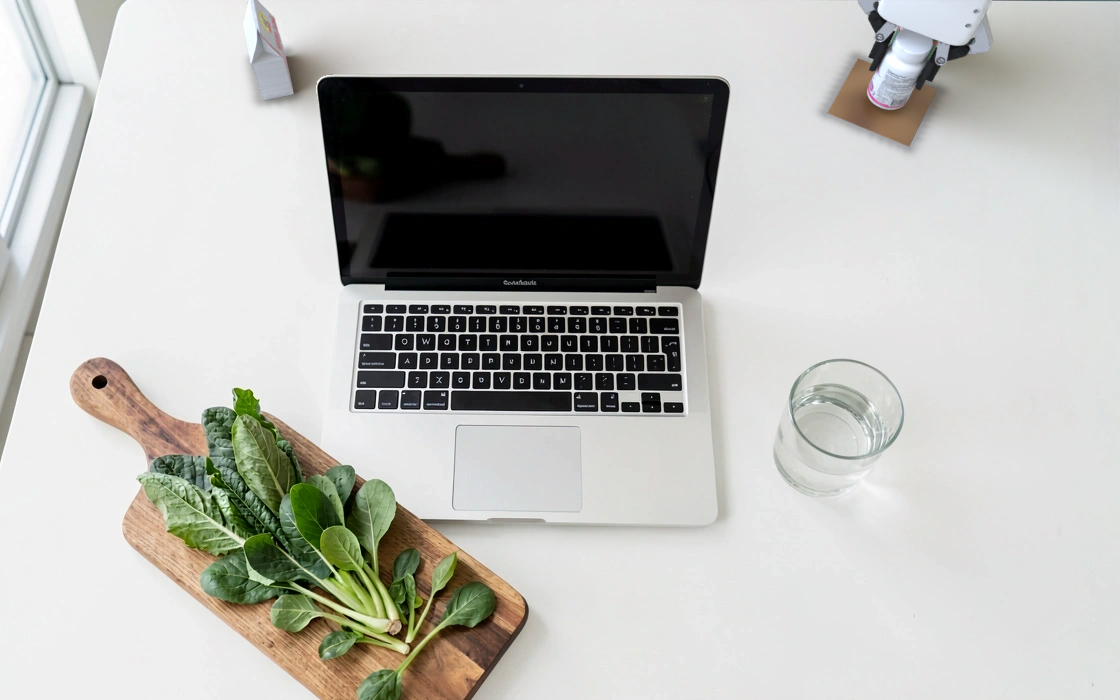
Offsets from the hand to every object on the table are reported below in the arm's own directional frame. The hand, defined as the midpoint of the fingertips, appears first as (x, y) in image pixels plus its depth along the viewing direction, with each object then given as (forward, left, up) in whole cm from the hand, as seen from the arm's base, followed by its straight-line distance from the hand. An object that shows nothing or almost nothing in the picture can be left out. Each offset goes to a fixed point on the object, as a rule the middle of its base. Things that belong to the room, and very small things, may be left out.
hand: (898, 71), depth 103 cm
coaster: (0, 0, -5) cm, 5 cm away
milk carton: (+54, +49, -5) cm, 73 cm away
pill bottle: (0, 0, -4) cm, 4 cm away
